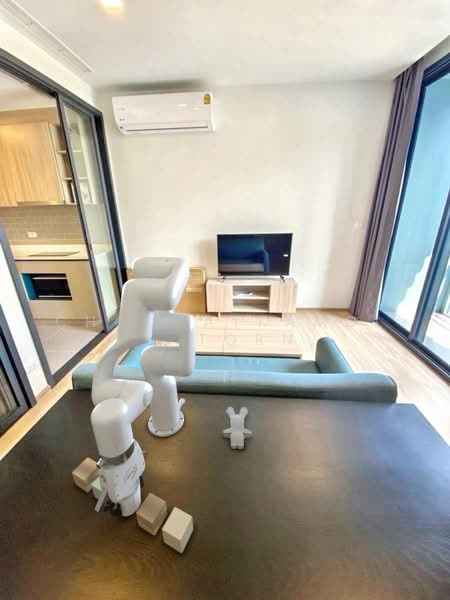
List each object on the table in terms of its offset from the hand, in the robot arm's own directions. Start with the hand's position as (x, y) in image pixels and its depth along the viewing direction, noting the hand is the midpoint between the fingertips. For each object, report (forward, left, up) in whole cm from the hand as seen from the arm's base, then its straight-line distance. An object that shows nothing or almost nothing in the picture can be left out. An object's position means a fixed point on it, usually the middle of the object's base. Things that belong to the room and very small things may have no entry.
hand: (128, 498), depth 65 cm
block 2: (0, -8, -3) cm, 8 cm away
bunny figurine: (-33, +17, -3) cm, 37 cm away
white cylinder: (0, 0, -2) cm, 2 cm away
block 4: (0, +15, -3) cm, 16 cm away
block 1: (0, -16, -3) cm, 16 cm away
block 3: (0, +8, -3) cm, 8 cm away
